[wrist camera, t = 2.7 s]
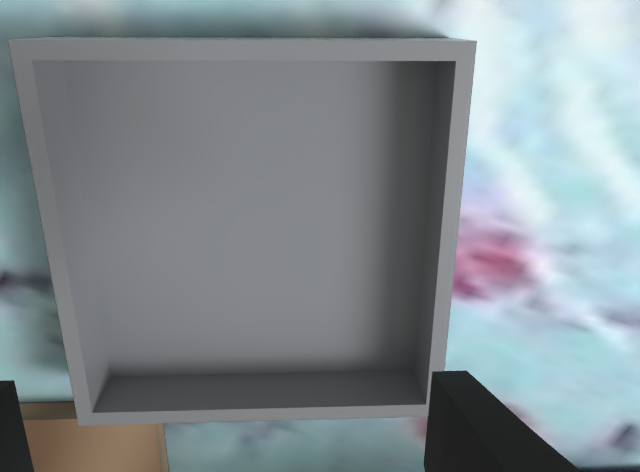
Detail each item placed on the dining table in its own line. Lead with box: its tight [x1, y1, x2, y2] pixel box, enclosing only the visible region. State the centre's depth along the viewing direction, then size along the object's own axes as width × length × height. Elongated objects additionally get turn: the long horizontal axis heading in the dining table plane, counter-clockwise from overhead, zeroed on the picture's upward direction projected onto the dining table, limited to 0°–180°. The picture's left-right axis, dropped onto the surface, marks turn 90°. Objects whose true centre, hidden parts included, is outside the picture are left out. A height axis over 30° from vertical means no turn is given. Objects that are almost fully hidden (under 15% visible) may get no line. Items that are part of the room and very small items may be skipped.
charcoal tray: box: [8, 37, 477, 426], centre depth 18 cm, size 12×12×3 cm
